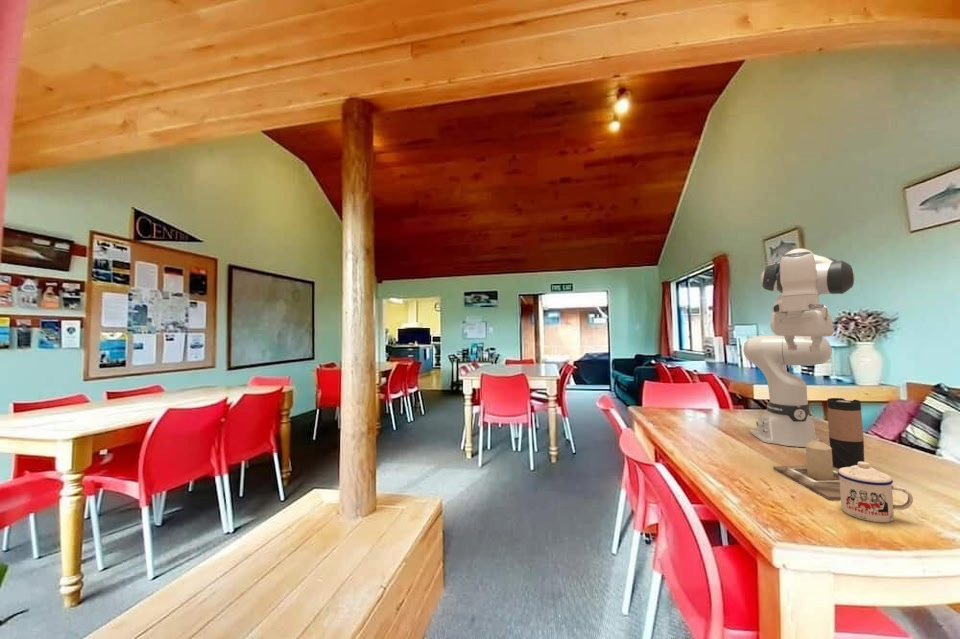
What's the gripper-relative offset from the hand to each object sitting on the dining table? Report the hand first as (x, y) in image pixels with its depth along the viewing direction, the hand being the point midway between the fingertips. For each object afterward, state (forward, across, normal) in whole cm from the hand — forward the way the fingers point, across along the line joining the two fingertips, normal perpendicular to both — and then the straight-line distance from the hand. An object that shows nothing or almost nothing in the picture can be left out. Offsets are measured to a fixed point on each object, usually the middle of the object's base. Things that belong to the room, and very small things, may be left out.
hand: (803, 351), depth 121 cm
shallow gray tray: (+35, -10, +4) cm, 37 cm away
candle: (+34, -9, +4) cm, 36 cm away
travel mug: (+35, +1, -11) cm, 37 cm away
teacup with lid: (+35, -30, +7) cm, 47 cm away
